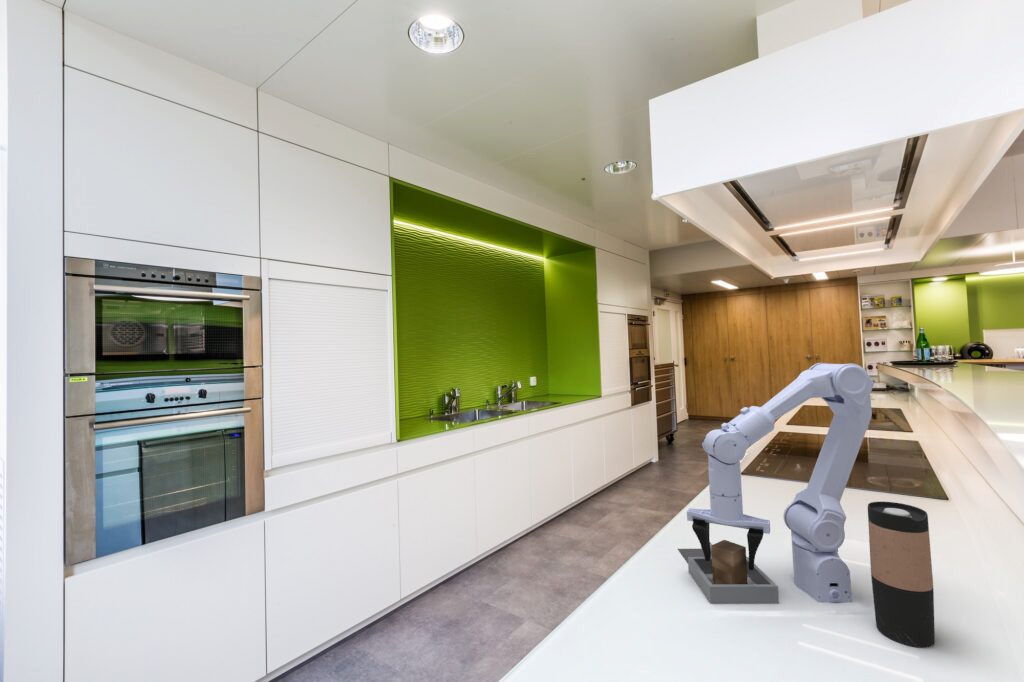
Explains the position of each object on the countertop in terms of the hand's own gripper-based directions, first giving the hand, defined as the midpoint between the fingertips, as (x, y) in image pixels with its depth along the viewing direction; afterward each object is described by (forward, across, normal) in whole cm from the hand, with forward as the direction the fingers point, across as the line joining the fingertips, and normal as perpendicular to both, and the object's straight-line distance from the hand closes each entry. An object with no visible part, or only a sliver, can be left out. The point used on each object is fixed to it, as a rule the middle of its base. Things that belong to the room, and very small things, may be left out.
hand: (729, 563), depth 87 cm
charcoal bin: (+5, 0, 0) cm, 5 cm away
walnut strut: (+5, 0, 0) cm, 5 cm away
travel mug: (+6, -26, 0) cm, 26 cm away
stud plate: (+5, +6, -10) cm, 13 cm away
